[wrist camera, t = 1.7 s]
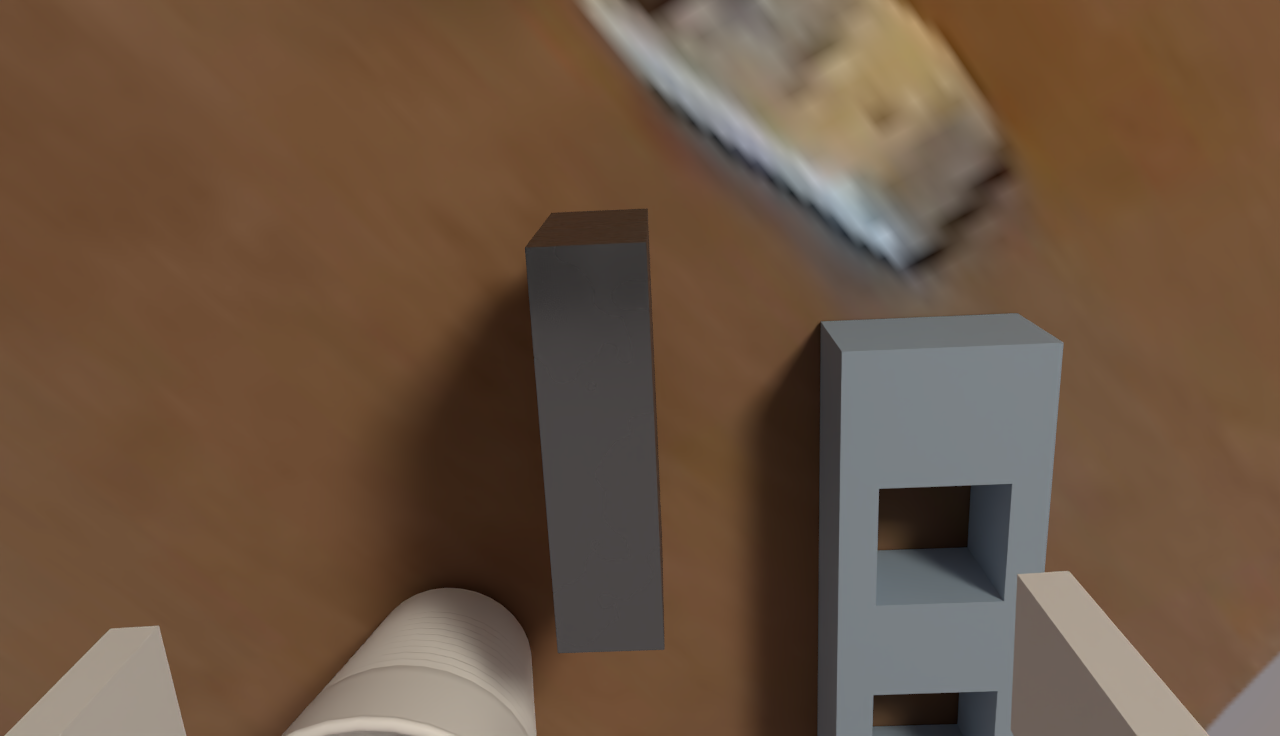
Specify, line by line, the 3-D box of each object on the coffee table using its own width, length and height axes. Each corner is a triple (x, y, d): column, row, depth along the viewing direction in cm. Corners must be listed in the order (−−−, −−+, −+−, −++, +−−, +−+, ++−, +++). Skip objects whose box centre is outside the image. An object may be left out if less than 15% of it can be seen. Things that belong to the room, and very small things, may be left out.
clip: (582, 503, 37) (557, 653, 27) (561, 199, 33) (524, 247, 24) (661, 500, 36) (664, 649, 27) (648, 195, 33) (646, 242, 24)
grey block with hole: (816, 824, 41) (833, 901, 37) (820, 321, 34) (841, 351, 31) (982, 819, 40) (1017, 896, 37) (1017, 313, 34) (1063, 342, 30)
